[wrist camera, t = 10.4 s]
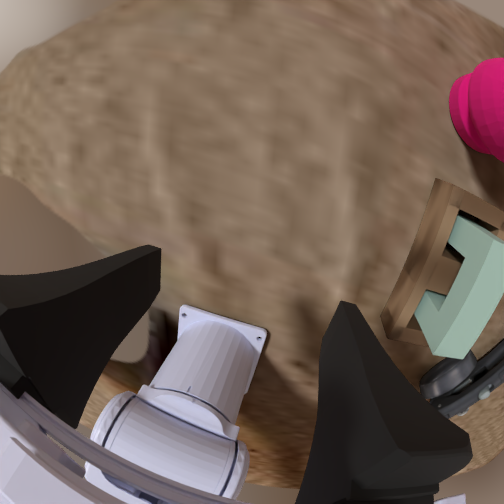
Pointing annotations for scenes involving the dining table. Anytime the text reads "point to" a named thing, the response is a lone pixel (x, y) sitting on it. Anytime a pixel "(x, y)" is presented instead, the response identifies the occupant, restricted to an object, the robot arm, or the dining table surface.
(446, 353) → the mint green foam block
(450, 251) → the brown wooden frame
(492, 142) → the pepper mill
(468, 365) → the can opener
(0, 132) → the dining table surface
